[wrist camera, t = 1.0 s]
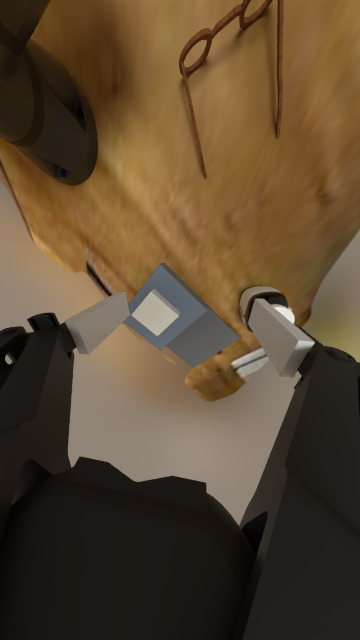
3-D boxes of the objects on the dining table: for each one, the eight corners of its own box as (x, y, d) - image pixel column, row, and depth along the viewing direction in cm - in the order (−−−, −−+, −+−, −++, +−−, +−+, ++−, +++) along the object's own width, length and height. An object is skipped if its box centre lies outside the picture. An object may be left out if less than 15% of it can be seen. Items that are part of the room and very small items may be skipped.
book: (125, 312, 43) (118, 317, 40) (164, 262, 35) (159, 264, 31) (163, 342, 47) (160, 350, 43) (206, 304, 38) (207, 310, 35)
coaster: (135, 311, 38) (131, 315, 36) (154, 288, 34) (150, 291, 32) (159, 331, 40) (157, 336, 38) (180, 312, 36) (178, 316, 34)
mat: (163, 343, 47) (163, 343, 46) (207, 305, 38) (207, 306, 38) (193, 366, 50) (193, 367, 50) (239, 337, 41) (240, 337, 41)
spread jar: (239, 285, 35) (254, 300, 24) (289, 280, 32) (329, 294, 22) (237, 325, 40) (249, 352, 30) (280, 323, 38) (308, 351, 28)
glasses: (270, 5, 18) (292, -72, 14) (278, 138, 23) (296, 113, 19) (180, 80, 22) (175, 38, 18) (203, 181, 27) (204, 167, 23)
